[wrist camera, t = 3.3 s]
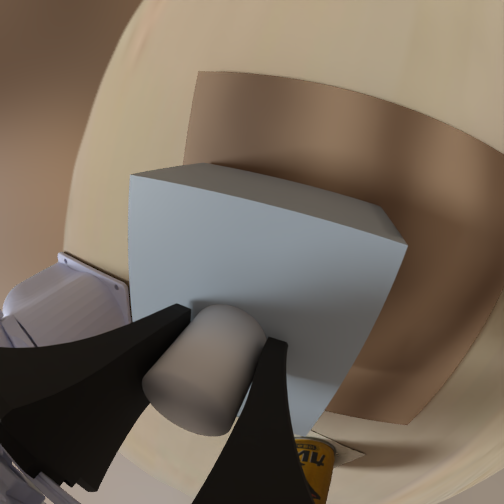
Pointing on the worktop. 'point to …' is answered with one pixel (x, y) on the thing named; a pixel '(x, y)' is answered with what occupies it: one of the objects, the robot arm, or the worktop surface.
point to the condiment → (321, 461)
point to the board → (394, 205)
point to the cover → (254, 286)
